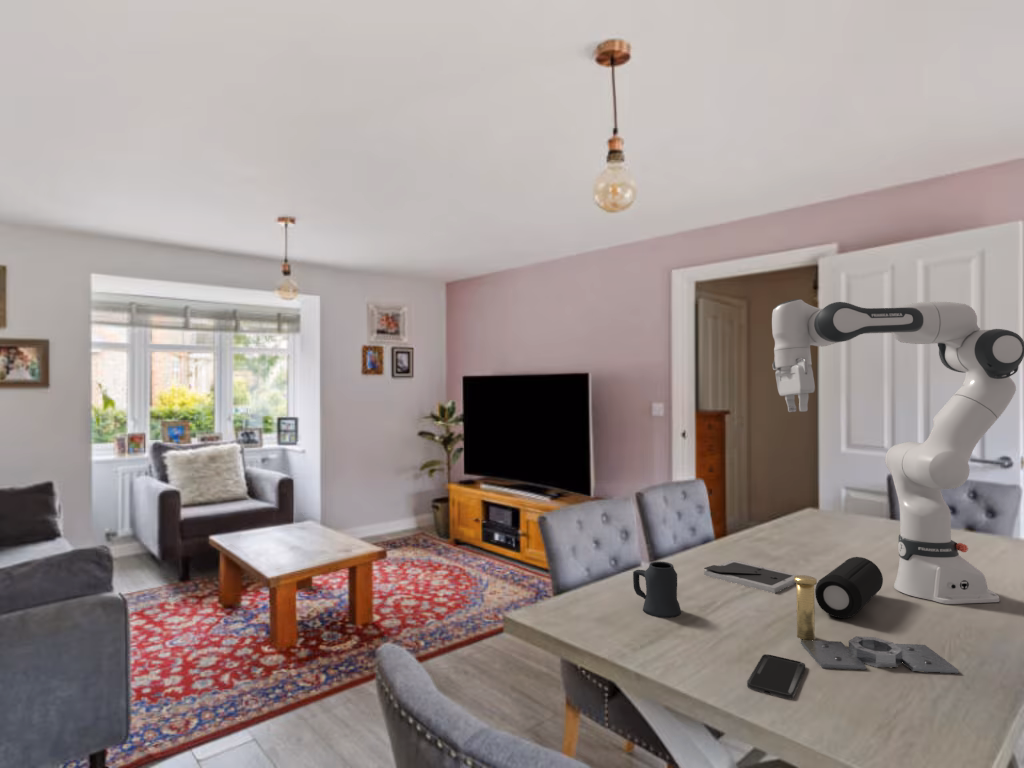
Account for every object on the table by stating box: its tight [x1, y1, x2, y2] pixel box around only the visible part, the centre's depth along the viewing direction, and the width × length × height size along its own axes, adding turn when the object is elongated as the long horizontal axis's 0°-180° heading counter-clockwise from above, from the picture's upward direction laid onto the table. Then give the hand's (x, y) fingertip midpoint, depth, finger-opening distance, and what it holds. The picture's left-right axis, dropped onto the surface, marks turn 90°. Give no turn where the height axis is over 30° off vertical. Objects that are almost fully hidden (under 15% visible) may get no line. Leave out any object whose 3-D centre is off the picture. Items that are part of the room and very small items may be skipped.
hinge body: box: [800, 636, 959, 675], centre depth 120 cm, size 24×11×2 cm, turn 84°
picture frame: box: [703, 559, 798, 594], centre depth 171 cm, size 16×3×21 cm
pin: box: [794, 574, 818, 641], centre depth 130 cm, size 4×4×13 cm
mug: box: [632, 561, 682, 619], centre depth 147 cm, size 12×9×11 cm
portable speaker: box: [814, 556, 884, 619], centre depth 149 cm, size 26×10×10 cm, turn 136°
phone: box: [746, 653, 806, 700], centre depth 112 cm, size 8×1×15 cm
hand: (797, 411), depth 160 cm, fingers open, 8 cm apart
